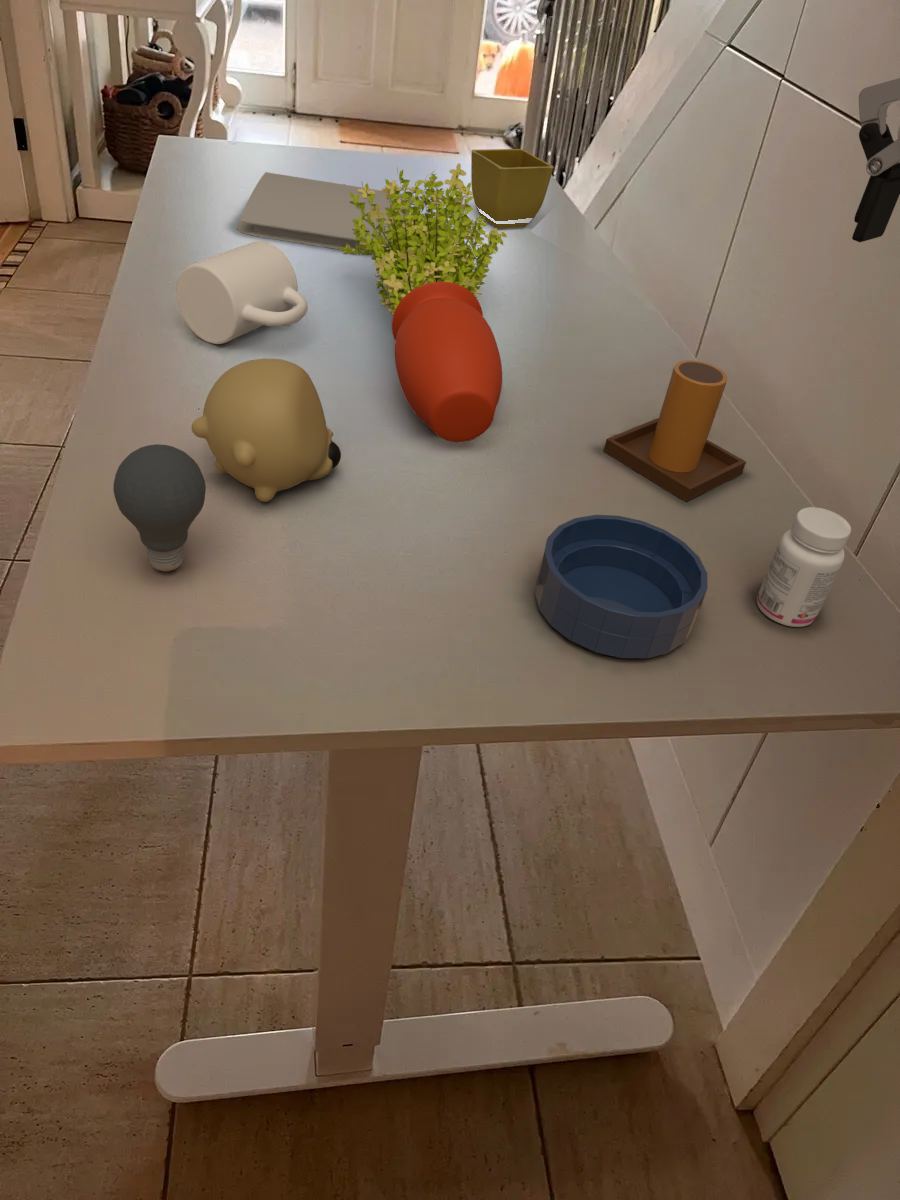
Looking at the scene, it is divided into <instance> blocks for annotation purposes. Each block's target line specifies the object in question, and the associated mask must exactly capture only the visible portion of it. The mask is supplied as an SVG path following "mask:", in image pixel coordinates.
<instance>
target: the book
mask: <svg viewBox="0 0 900 1200" xmlns="http://www.w3.org/2000/svg"><path fill="white" fill-rule="evenodd" d="M358 189H363V190H364V187H361V186H355V185H349V184H342V183H336V182H330V181H325V180H324V181H323V180H317V179H311V178H305V177H298V176H294V175H293V176H292V175H286V174H280V173H274V172H269V171H265V172H264V173H263V174H262V175H261V177H260V179H258V182H257V184H255V187H254V188H253V190H252V192H251V194H250V195H249V198H248V200H247V202H246V204H245V206H244V209H243V212H242V215H241V217H240V219H239V220H238V222H237V223H236V230H238V231H239V232H240V233H242V234H245V235H249V236H253V237H260V238H266V239H272V240H279V241H284V242H291V243H297V244H303V245H310V246H315V247H322V248H328V249H335V250H339V248H340V247H343V248H345V249H346V244H348V245H349V246H350V249H351V247H352V249H355V245H356V247H357V246H358V245H359V244H360V242H362V241H360V242H359V243H356V241H357V239H356V238H355V236H356V235H354V234H353V233H354V232H355V231H354V230H352V228H355V226H354V225H355V223H354V222H353V221H352V220H354V219H355V220H358V218H359V216H360V218H361V217H362V216H363V215H362V212H361V208H359V209H360V210H359V209H357V208H356V206H355V205H354V204H351V203H349V202H350V201H353V198H352V197H351V196H350V193H349V192H351V193H353V194H354V195H355V198H356V195H357V194H358V193H359V192H357V190H358ZM370 190H372V191H374V192H375V196H374V199H373V204H379V205H380V211H379V212H384V213H385V214H386V213H389V212H387V211H386V210H385V208H387V207H388V208H391V207H390V203H391V201H393V199H391V201H390V199H389V200H387V199H386V195H387V193H384V192H382V189H374V188H369V190H368V191H370ZM399 194H400V197H401V195H402V194H403V193H399ZM359 195H360V198H359V200H358V201H357V202H358V203H360V202H362V203H364V202H365V205H364V206H365V209H364V212H365V215H366V214H367V213H368V211H370V210H373V209H371V208H374V207H375V206H371V201H370V203H369V201H368V200H367V199H368V198H369V197H370V196H367V197H366V199H363V198H362V195H363V194H362V193H359ZM400 197H399V198H398V199H400V200H401V199H403V198H400ZM413 197H415V195H412V197H411V201H410V202H412V198H413ZM404 200H405V201H406V200H408V199H404ZM404 200H403V201H404ZM401 202H402V200H401ZM407 202H408V201H407ZM370 206H371V207H370ZM410 206H411V207H412V205H411V204H410ZM359 207H360V206H359ZM408 208H409V207H407V209H408ZM405 211H406V210H405ZM399 213H400V214H401V215H402V216H403V217H406V216H405V215H404V214H403V213H402V212H401V211H399ZM373 217H374V215H372V216H371V221H372V222H373ZM364 218H365V219H367V216H365V217H364ZM378 218H379V219H381V218H385V219H386V220H385V221H389V218H388V217H387V215H386V216H385V217H380V216H378ZM377 221H378V220H377ZM377 221H376V222H375V223H374V224H375V228H376V227H377V226H378V225H379V224H380V222H379V224H378V222H377ZM385 221H384V225H383V226H382V227H383V229H384V226H389V225H387V224H385ZM390 221H391V220H390ZM364 223H365V226H366V228H365V229H367V230H369V232H370V235H372V234H374V233H373V230H375V229H374V228H373V227H372V226H371V225H370V224H368V222H366V221H365V220H363V221H362V224H364ZM359 225H360V224H359ZM360 226H361V225H360ZM376 230H377V232H379V230H378V229H376ZM376 230H375V231H376ZM385 231H389V228H388V227H385ZM369 232H368V233H369ZM383 232H384V231H383ZM383 232H382V233H381V235H382V236H383V237H384V235H383ZM364 233H365V234H366V233H367V232H364ZM378 234H379V233H378ZM387 235H388V234H386V233H385V236H386V237H387ZM360 237H361V235H360ZM365 238H366V237H364V239H365ZM372 238H377V239H378V237H372V236H370V239H372ZM379 238H380V237H379ZM384 238H385V237H384ZM385 241H387V240H386V238H385ZM366 243H367V242H366ZM386 243H387V244H388V242H386ZM388 245H389V244H388ZM388 245H387V246H386V248H387V247H388ZM392 245H393V244H392ZM361 249H363V248H359V250H361ZM361 251H362V252H363V254H364V251H365V249H364V250H361ZM370 251H371V250H370ZM388 253H390V250H388ZM372 256H374V254H373V255H372Z"/></svg>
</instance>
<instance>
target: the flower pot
mask: <svg viewBox="0 0 900 1200" xmlns="http://www.w3.org/2000/svg"><path fill="white" fill-rule="evenodd" d="M470 157H471V159H470V160H471V165H470V168H471V170H470V172H471V173H470V174H471V175H470V176H471V177H470V179H471V181H470V182H471V192H472V193H473V195H472V197H474V198H473V201H474V205H475V207H476V206H477V207H478V208H479V209H481V210H482V211H484V212H485V213H486V214H488V215H489V216H490V217H491V218H493V219H494V220H495V221H508V220H518V219H526V218H533V219H534V218H535V217H536V216H537V214H538V213H539V211H540V210H541V208H542V206H543V203H544V200H545V198H546V194H547V191H548V188H549V184H550V181H551V178H552V174H553V171H554V166H553V165H552V164H551V163H548V162H546V161H545V160H543V159H542V158H539V157H537V156H535V155H534V154H532V153H531V152H529V151H527V150H525V149H523V148H491V149H487V148H485V149H471V156H470ZM478 216H484V215H483V214H481V213H480V212H478ZM484 217H486V216H484ZM481 218H483V217H480V219H481ZM483 219H484V221H485V222H486V223H488V224H490V225H491V226H493V227H494V228H497V230H498V229H499V230H500V229H513V228H526V227H527V226H528V225H529V224H530V223H515V224H496V223H494V222H493V221H491V220H490V219H488V218H487V217H486V218H483Z"/></svg>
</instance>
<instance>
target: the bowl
mask: <svg viewBox="0 0 900 1200" xmlns="http://www.w3.org/2000/svg"><path fill="white" fill-rule="evenodd" d="M536 581H537V582H536V586H535V589H534V595H535V599H536V602H537V607H538V610H539V612H540V613H541V614H542V616H543V617H544V618H545V620H546V621H547V622H548V624H549V625H550V626H551V627H552V628H553V629H555V631H557V632H558V633H559V634H561V635H562V636H563V637H565V638H566V639H568V640H569V641H571V642H572V643H574V644H577V645H579V646H581V647H583V648H586V649H588V650H590V651H592V652H594V653H597V654H601V655H606V656H611V657H614V658H619V659H649V658H654V657H658V656H663V655H667V654H668V653H670V652H672V651H674V650H676V649H677V648H678V647H680V646H681V645H683V644H684V643H685V642H686V640H687V639H688V637H689V635H690V634H691V632H692V630H693V628H694V625H695V623H696V620H697V617H698V614H699V612H700V610H701V607H702V605H703V602H704V599H705V597H706V594H707V591H708V589H709V588H708V587H709V585H708V572H707V569H706V568H705V565H704V564H703V562H702V560H701V558H700V556H699V555H698V554H697V553H696V552H695V551H694V550H693V549H692V547H690V546H689V545H688V544H687V543H686V542H685V541H683V540H682V539H680V538H678V537H677V536H675V535H674V534H672V533H671V532H669V531H667V530H665V529H664V528H661V527H659V526H656V525H654V524H651V523H650V522H647V521H643V520H640V519H635V518H632V517H631V518H630V517H627V516H622V515H613V514H591V515H585V516H580V517H574V518H572V519H570V520H567V521H566V522H563V523H562V524H559V525H558V526H556V528H555V529H554V530H553V531H552V532H551V533H550V534H549V535H548V536H547V539H546V543H545V547H544V550H543V555H542V559H541V563H540V568H539V573H538V577H537V580H536Z"/></svg>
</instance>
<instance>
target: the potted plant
mask: <svg viewBox="0 0 900 1200" xmlns="http://www.w3.org/2000/svg"><path fill="white" fill-rule="evenodd" d="M396 171H397V172H398V175H397V176H398V179H399V183H400V185H401V186H398V184H397V180H396V179H393V180H391V182H390V180H389V179H387V178H384V180H385V185H384V188H382V189H381V191H382V192H384V193H387V195H386V199H387V200H389V199H390V201H391V199H393V201H391V203H390V207H391V208H388V207H387V208H385V210H386V211H387V212H389V213H386V214H385V213H384V212H379V211H380V205H379V204H373V199H374V196H375V192H374V191H372V190H370V191H368V190H369V189H370V187H369V183H368V182H367V183H365V184H363V182H361V186H362V188H364V190H363V189H358V190H357V192H359V193H362V194H363V195H362V198H363V199H366V197H367V196H370V197H369V198H368V199H367V200H368V201H369V203H370V201H371V206H375V207H374V208H371V209H373V210H370V211H368V213H367V214H366V215H365V212H364V209H365V206H364V205H365V202H364V203H362V202H360V203H358V202H357V201H358V200H359V198H360V195H359V193H358V194H357V195H356V198H355V195H354V194H353V193H351V192H349V193H350V196H351V197H352V198H353V201H350V202H349V203H351V204H354V205H355V206H356V208H357V209H359V208H361V212H362V215H363V216H362V217H361V218H360V216H359V218H358V220H355V219H354V220H352V221H353V222H354V223H355V225H354V226H355V228H352V230H354V231H355V232H354V233H353V234H354V235H356V236H355V238H356V239H357V241H356V243H359V242H360V241H362V242H360V244H359V245H358V246H357V247H356V245H355V249H352V247H351V249H350V246H349V245H348V244H346V249H345V248H343V247H340V248H339V249H338V250H339V251H341V252H342V253H341V254H342V255H351V256H371V257H370V258H371V260H372V261H374V262H373V267H375V271H376V272H377V274H375V275H374V277H375V278H378V280H377V281H376V282H377V283H376V284H375V285H374V286H375V287H376V289H379V291H378V293H377V294H378V295H379V296H381V297H380V300H381V301H380V302H379V304H380V305H383V306H384V307H385V308H387V312H389V313H390V314H391V315H392V318H391V319H392V320H391V333H392V336H393V340H394V351H393V352H394V355H393V356H394V364H395V369H396V374H397V378H398V382H399V385H400V388H401V391H402V393H403V396H404V398H405V400H406V402H407V404H408V405H409V407H410V409H411V410H412V411H413V413H414V414H415V415H416V416H417V417H418V419H419V420H420V421H421V422H422V423H424V425H426V426H427V427H428V428H429V429H430V430H431V431H432V432H433V433H434V434H435V435H436V436H437V437H438V438H440V439H442V440H444V441H447V442H450V443H465V442H469V441H472V440H475V439H476V438H478V437H480V436H482V435H483V434H484V433H485V432H487V431H488V429H489V428H490V427H491V425H492V423H493V421H494V419H495V414H496V410H497V407H498V404H499V401H500V397H501V395H502V389H503V386H502V385H503V366H502V359H501V355H500V354H501V353H500V351H499V347H498V343H497V341H496V337H495V334H494V333H493V331H492V327H491V326H490V324H489V323H488V321H487V320H486V318H485V317H484V312H483V309H482V308H483V307H482V306H481V303H480V301H479V300H478V296H477V295H482V294H483V292H482V291H478V290H481V286H482V285H484V284H486V282H484V281H483V279H485V278H487V275H486V273H488V272H490V271H491V269H489V265H490V264H492V261H491V260H492V259H493V256H492V255H494V254H497V253H498V251H499V246H498V244H500V245H501V246H504V241H503V239H502V238H506V239H507V238H508V235H507V233H506V232H504V231H501V232H498V228H496V227H494V229H491V230H489V232H488V234H487V231H486V230H484V227H488V224H487V222H484V221H485V220H484V219H483V218H486V217H484V216H480V215H478V216H477V217H475V221H474V219H471V217H469V216H468V214H470V213H471V212H472V211H474V208H472V205H470V204H468V203H469V202H470V201H472V200H474V197H473V193H472V190H471V188H472V185H471V181H470V182H469V183H468V184H467V185H466V186H465V183H464V181H463V180H462V179H461V178H459V177H460V176H463V177H464V176H466V175H467V172H466V171H465V170H464V169H462V166H461V163H460V162H458V163H457V164H456V168H455V169H454V168H450V169H449V173H450V174H451V178H450V179H445V180H444V182H443V181H442V180H438V181H436V180H437V179H438V177H437V176H436V175H437V173H434V172H435V170H433V171H432V172H431V173H430V174H429V175H428V176H426V177H425V179H424V180H422V179H418V180H416V181H415V184H414V186H411V187H408V186H409V184H410V182H411V180H410V179H405V178H404V177H403V176H404V169H401V170H400V171H399V168H398V166H396ZM427 177H428V179H427ZM422 184H423V187H424V190H423V189H422V188H420V186H421V185H422ZM444 185H449V186H448V187H447V188H446V189H445V190H444V188H443V187H442V186H444ZM438 188H440V189H438ZM400 192H402V193H400ZM399 193H400V194H402V195H401V197H400V194H399ZM412 196H414V197H413V198H412V202H410V201H411V197H412ZM399 197H400V198H403V199H401V200H402V202H401V200H400V199H398V198H399ZM404 199H408V200H406V201H405V200H404ZM403 200H404V201H403ZM407 201H408V202H407ZM463 201H464V204H463ZM410 204H411V206H410ZM359 206H360V207H359ZM371 206H370V207H371ZM407 207H409V208H408V209H407ZM359 210H360V209H359ZM405 210H406V211H405ZM424 210H425V212H424ZM399 211H401V212H402V213H403V214H404V215H405V216H406V217H403V216H402V215H401V214H400V213H399ZM422 212H424V213H422ZM372 215H374V217H373V222H372V221H371V216H372ZM386 215H387V217H388V218H389V221H385V220H386V219H385V218H381V219H379V218H378V216H380V217H385V216H386ZM365 216H367V219H365V218H364V217H365ZM481 217H483V218H481ZM363 220H365V221H366V222H368V224H370V225H371V226H372V227H373V228H374V229H375V230H376V229H378V230H379V232H377V230H376V231H375V230H373V233H374V234H372V235H370V232H369V230H367V229H365V228H366V226H365V223H364V224H362V221H363ZM377 220H378V221H377ZM390 220H391V221H390ZM376 221H377V222H378V224H379V222H380V224H379V225H378V226H377V227H376V228H375V224H374V223H375V222H376ZM384 221H385V224H387V225H389V226H384V229H383V227H382V226H383V225H384ZM359 224H360V225H361V226H360V225H359ZM385 227H388V228H389V231H385ZM383 231H384V232H383ZM364 232H367V233H366V234H365V233H364ZM368 232H369V233H368ZM382 232H383V235H384V237H385V238H386V240H387V241H385V238H384V237H383V236H382V235H381V233H382ZM378 233H379V234H378ZM385 233H386V234H388V235H387V237H386V236H385ZM360 235H361V237H360ZM482 235H483V236H484V237H481V236H482ZM370 236H372V237H378V239H377V238H372V239H370ZM364 237H366V238H365V239H364ZM379 237H380V238H379ZM485 238H487V242H488V243H487V242H485V243H484V242H483V241H485ZM465 240H466V241H465ZM366 242H367V243H366ZM386 242H388V244H389V245H388V244H387V243H386ZM392 244H393V245H392ZM387 245H388V247H387V248H386V246H387ZM359 248H363V249H361V250H364V249H365V251H364V253H363V252H362V251H361V250H359ZM370 250H371V251H370ZM388 250H390V253H388ZM373 254H374V255H373ZM480 285H481V286H480ZM380 288H381V289H380ZM387 292H388V293H387Z"/></svg>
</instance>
